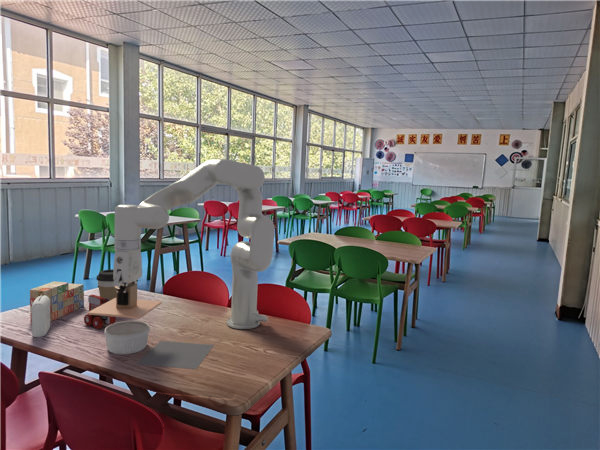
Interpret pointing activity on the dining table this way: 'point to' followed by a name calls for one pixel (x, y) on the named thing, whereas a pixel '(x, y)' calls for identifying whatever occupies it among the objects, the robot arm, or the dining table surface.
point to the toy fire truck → (97, 319)
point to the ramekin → (126, 337)
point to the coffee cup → (106, 284)
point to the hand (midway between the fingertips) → (126, 301)
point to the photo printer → (40, 316)
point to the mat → (176, 355)
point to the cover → (126, 306)
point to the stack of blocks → (59, 297)
